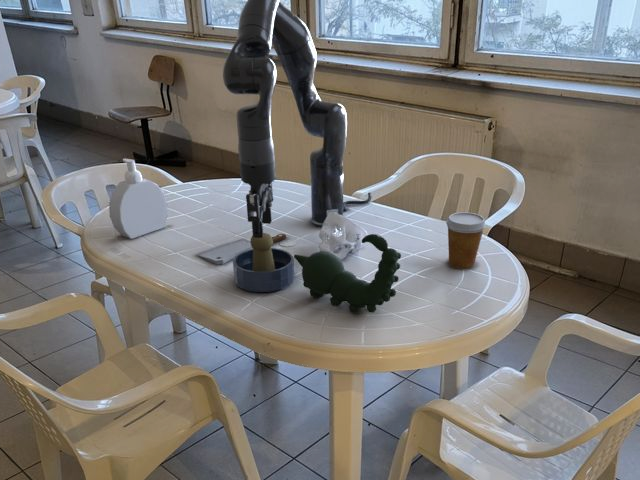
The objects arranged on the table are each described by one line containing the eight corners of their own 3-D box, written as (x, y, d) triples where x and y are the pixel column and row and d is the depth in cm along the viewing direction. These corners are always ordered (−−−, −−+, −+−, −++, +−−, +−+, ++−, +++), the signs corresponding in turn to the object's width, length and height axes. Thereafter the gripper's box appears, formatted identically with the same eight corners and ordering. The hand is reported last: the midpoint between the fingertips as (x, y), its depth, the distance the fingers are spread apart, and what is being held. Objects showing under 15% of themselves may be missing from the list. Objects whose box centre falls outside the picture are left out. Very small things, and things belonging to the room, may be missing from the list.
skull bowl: (300, 252, 158) (318, 206, 157) (334, 265, 169) (350, 223, 168) (329, 263, 152) (347, 216, 150) (361, 277, 163) (379, 233, 161)
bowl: (243, 266, 154) (241, 246, 151) (299, 269, 153) (298, 249, 150) (227, 292, 142) (225, 270, 139) (287, 295, 141) (286, 273, 138)
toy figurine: (398, 313, 137) (303, 280, 146) (410, 234, 126) (307, 204, 135) (379, 332, 130) (281, 296, 139) (390, 250, 119) (283, 217, 129)
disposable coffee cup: (483, 259, 158) (489, 214, 152) (477, 274, 150) (483, 227, 144) (446, 254, 161) (450, 209, 154) (439, 268, 153) (443, 222, 147)
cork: (252, 273, 150) (248, 230, 144) (277, 272, 150) (274, 229, 144) (251, 284, 145) (247, 240, 139) (277, 283, 145) (274, 239, 139)
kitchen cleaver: (269, 228, 174) (291, 236, 168) (270, 232, 175) (292, 240, 168) (195, 252, 160) (216, 262, 154) (195, 256, 161) (216, 266, 154)
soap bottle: (159, 221, 182) (148, 152, 171) (171, 225, 179) (160, 155, 168) (112, 237, 171) (97, 165, 160) (124, 242, 168) (109, 168, 158)
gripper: (248, 149, 138) (254, 218, 147) (230, 167, 126) (238, 241, 135) (280, 150, 138) (285, 219, 146) (266, 168, 126) (272, 243, 134)
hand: (262, 230), depth 141 cm, fingers open, 8 cm apart
